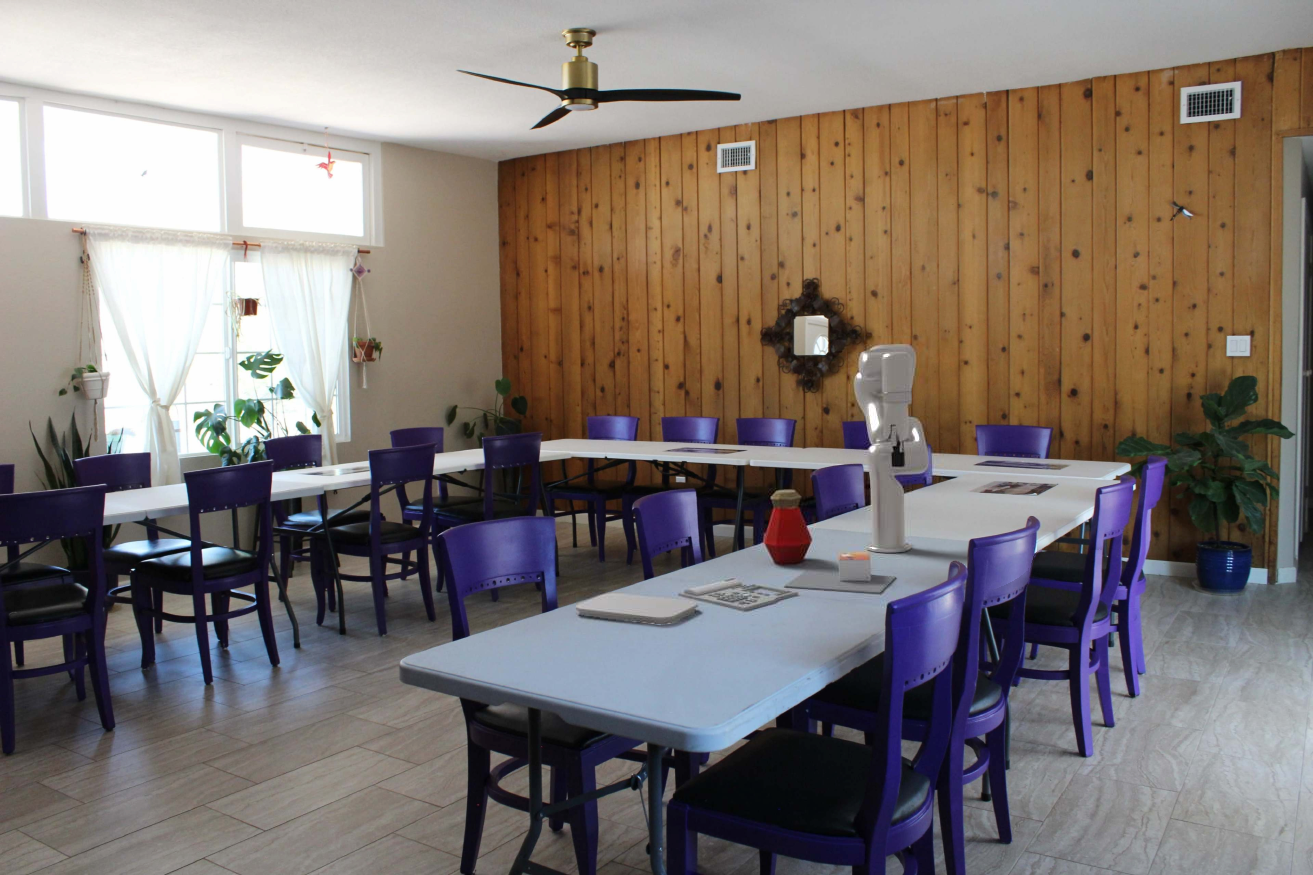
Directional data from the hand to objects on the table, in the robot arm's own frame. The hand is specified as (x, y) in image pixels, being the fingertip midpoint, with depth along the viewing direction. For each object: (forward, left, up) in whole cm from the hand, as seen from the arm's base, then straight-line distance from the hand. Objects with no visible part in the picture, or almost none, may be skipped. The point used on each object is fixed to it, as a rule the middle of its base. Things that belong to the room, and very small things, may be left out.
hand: (898, 466), depth 264 cm
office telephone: (+44, -30, -28) cm, 60 cm away
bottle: (+2, -31, -27) cm, 41 cm away
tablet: (+66, -47, -28) cm, 86 cm away
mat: (+24, -10, -27) cm, 38 cm away
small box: (+13, -9, -24) cm, 29 cm away
